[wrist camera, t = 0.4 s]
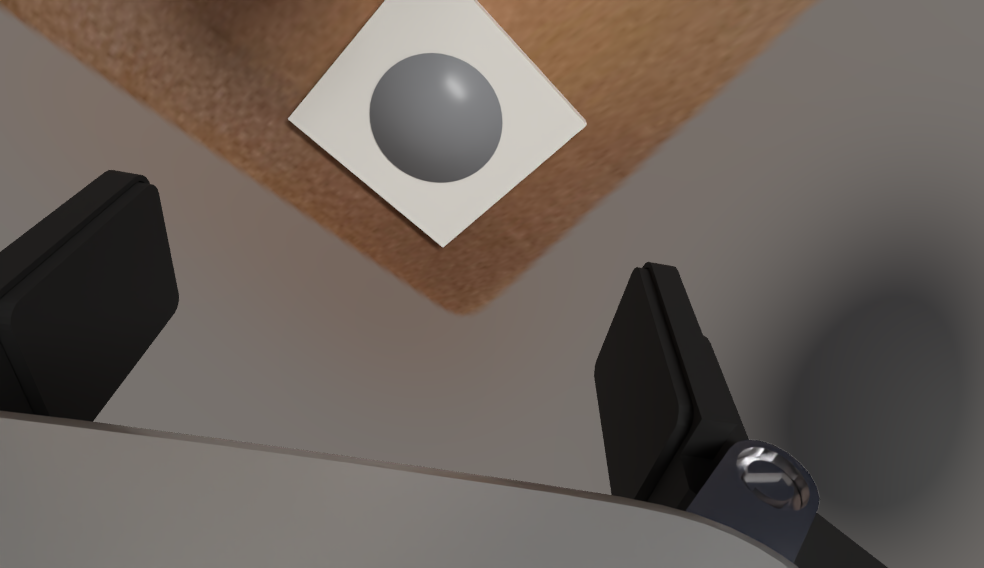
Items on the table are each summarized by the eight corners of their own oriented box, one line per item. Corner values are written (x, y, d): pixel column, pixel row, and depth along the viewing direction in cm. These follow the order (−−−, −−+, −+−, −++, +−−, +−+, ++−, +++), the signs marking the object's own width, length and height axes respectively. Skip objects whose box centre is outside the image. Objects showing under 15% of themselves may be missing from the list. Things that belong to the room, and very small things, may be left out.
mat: (291, 114, 44) (287, 119, 43) (428, -53, 37) (426, -51, 36) (444, 241, 51) (442, 248, 50) (585, 120, 43) (586, 125, 43)
